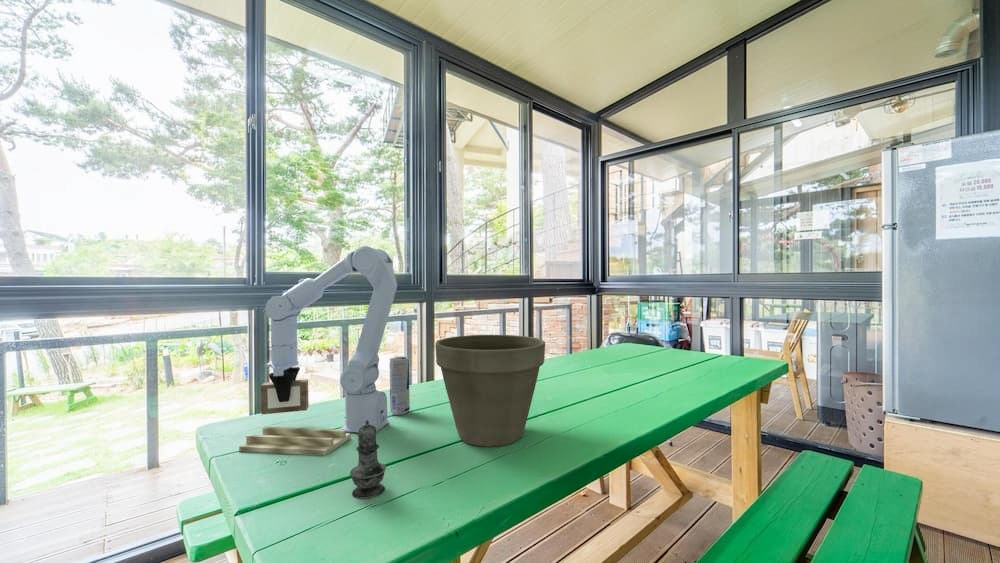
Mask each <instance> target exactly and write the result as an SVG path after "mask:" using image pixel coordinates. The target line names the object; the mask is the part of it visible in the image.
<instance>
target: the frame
mask: <svg viewBox="0 0 1000 563" xmlns="http://www.w3.org/2000/svg"><path fill="white" fill-rule="evenodd" d="M260 397H261V398H260V400H261V401H260V402H261V403H260V404H261V407H260V408H261V415H271V414H272V415H273V414H279V413H280V414H281V413H283V414H284V413H292V412H301V411H302V412H303V411H307V410H308V409H309V379H296V380H294V381H292V385H291V393H290V399H289V401H287V402H279V400H278V397H277V393H276V389H275V386H274V384H273V382H272V381H269V382H263V383H261V385H260Z"/></svg>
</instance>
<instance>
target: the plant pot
mask: <svg viewBox="0 0 1000 563" xmlns="http://www.w3.org/2000/svg"><path fill="white" fill-rule="evenodd" d="M545 354H546V342H545V340H543V339H540V338H537V337H533V336H524V335H514V334H513V335H512V334H511V335H510V334H470V335H469V334H468V335H458V336H456V335H455V336H450V337H449V336H448V337H446V338H441V339H439V340H437V341H436V342H435V360H436V361H435V362H436V365H437V366H439V367H440V369H441V375H442V377H443V379H442V380H443V382H444V386H445V390H446V393H447V398H448V402H449V405H450V409H451V412H452V417H453V421H454V424H455V428H456V431H457V434H458V437H459V439H460V440H461V441H462V442H464V443H466V444H469V445H472V446H475V447H476V446H477V447H487V448H488V447H493V448H494V447H501V446H508V445H511V444H513V443H516V442H517V441H519V440H520V439H521V438H522V436H523V435H524V432H525V428H526V425H527V421H528V416H529V414H530V409H531V405H532V402H533V398H534V392H535V390H536V384H537V381H538V377H539V372H540V367H542V366H543V365H544V363H545Z"/></svg>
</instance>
